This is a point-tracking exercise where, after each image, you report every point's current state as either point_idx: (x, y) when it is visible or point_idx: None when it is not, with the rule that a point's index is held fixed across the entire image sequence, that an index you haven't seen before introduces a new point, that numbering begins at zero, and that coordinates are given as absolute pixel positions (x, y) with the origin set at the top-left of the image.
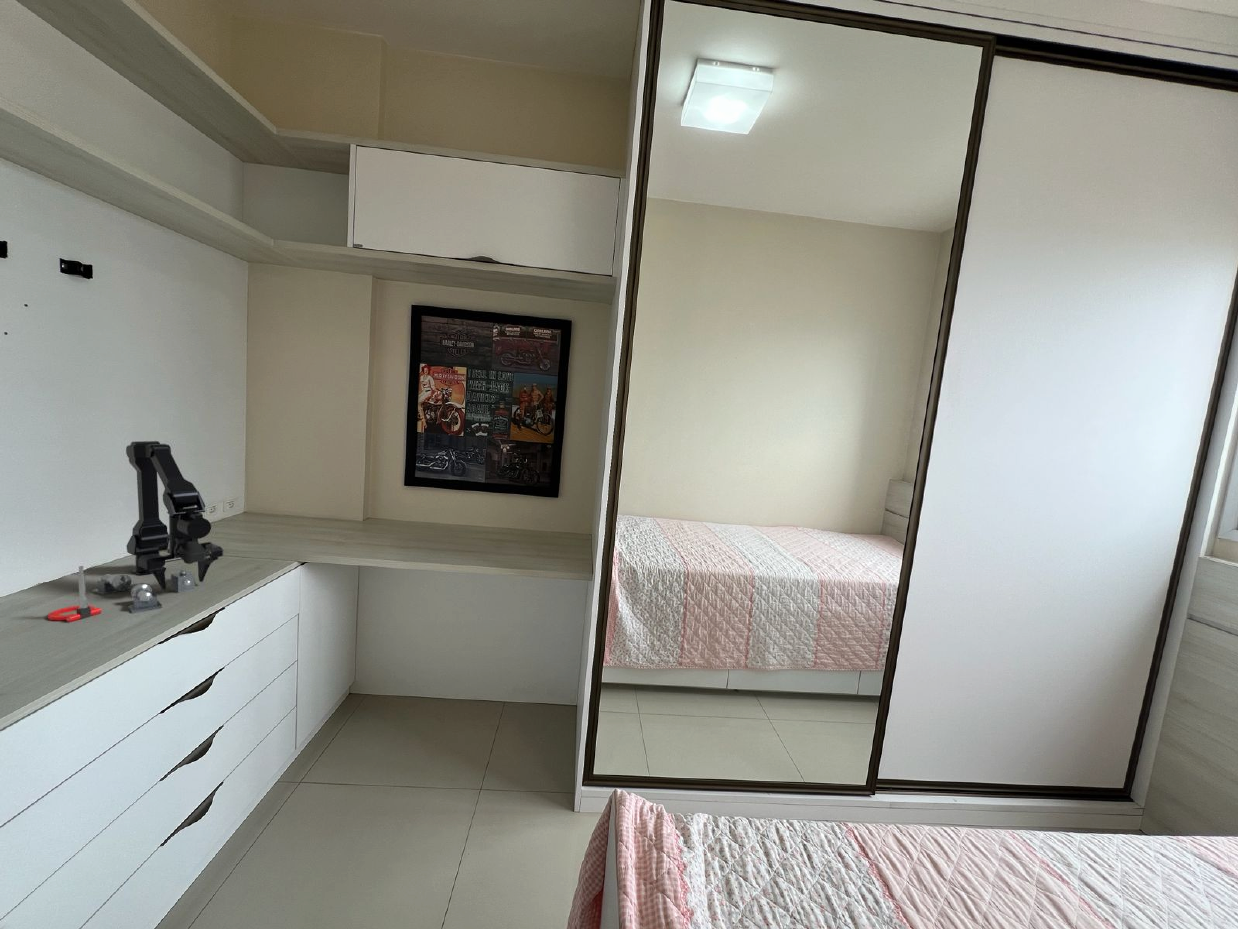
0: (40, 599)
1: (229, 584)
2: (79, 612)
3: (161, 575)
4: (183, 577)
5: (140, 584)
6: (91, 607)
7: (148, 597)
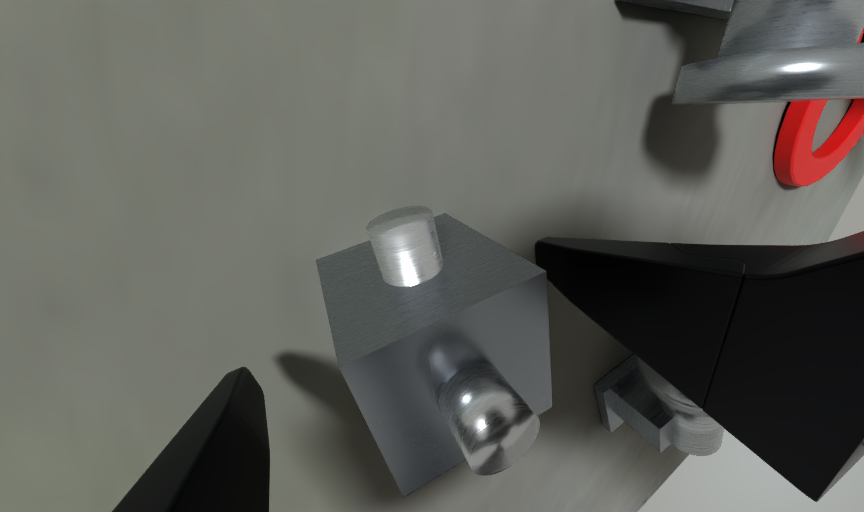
0: None
1: None
2: None
3: (740, 257)
4: (476, 291)
5: None
6: (815, 107)
7: None
